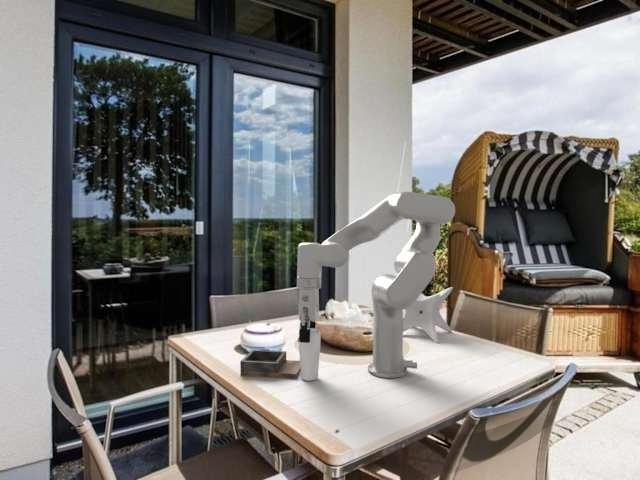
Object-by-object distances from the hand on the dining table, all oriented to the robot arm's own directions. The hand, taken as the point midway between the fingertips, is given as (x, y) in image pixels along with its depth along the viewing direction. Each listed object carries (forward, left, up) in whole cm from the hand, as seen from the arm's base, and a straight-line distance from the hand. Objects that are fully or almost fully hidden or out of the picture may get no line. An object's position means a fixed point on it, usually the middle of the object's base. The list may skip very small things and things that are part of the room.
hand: (307, 337), depth 131 cm
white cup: (-1, 0, -13) cm, 13 cm away
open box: (+12, -5, -13) cm, 19 cm away
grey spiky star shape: (-40, -57, -13) cm, 71 cm away
